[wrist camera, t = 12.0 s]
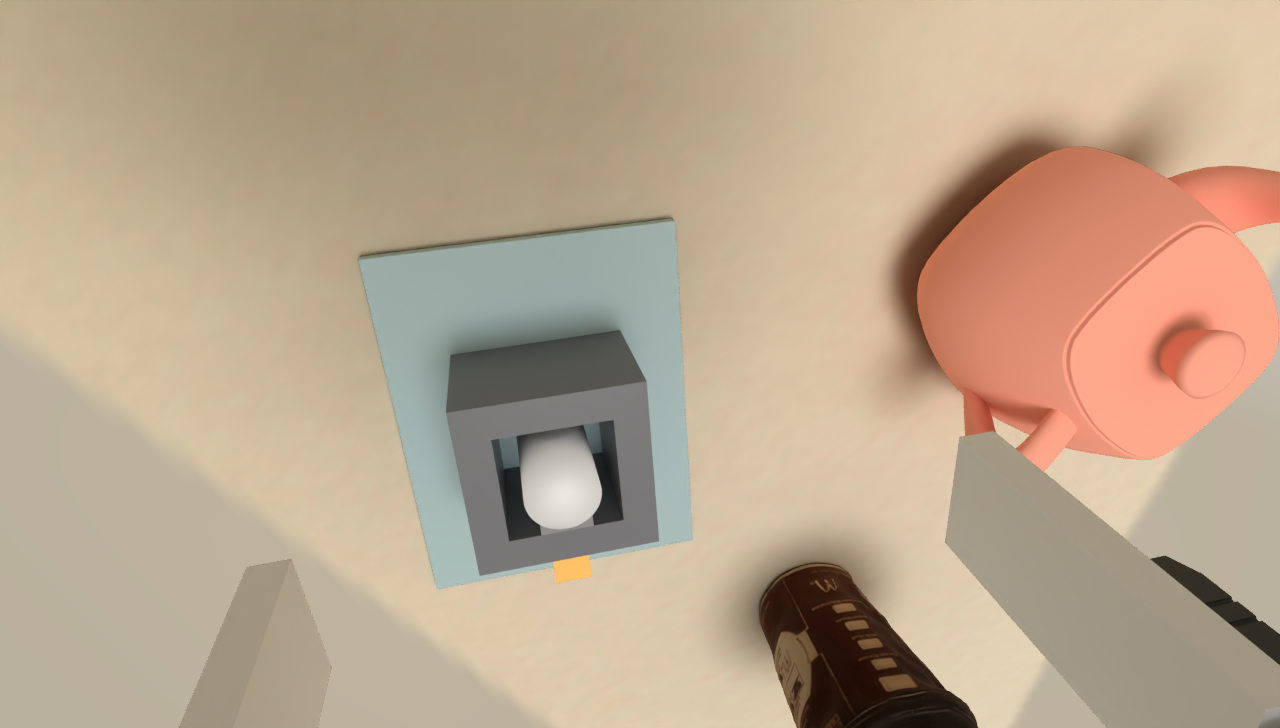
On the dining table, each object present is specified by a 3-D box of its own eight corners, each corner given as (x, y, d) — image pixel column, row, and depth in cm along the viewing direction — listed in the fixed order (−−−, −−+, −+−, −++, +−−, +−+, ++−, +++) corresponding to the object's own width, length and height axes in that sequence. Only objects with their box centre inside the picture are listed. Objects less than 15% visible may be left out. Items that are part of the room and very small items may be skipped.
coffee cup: (765, 677, 47) (860, 884, 36) (716, 593, 44) (805, 792, 32) (885, 614, 47) (1019, 800, 36) (846, 524, 44) (982, 698, 32)
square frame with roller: (450, 354, 34) (445, 412, 28) (620, 330, 35) (646, 381, 30) (482, 518, 38) (483, 597, 32) (634, 491, 39) (660, 562, 34)
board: (360, 256, 32) (329, 313, 25) (671, 218, 34) (721, 260, 27) (437, 582, 39) (429, 694, 32) (689, 533, 41) (732, 629, 35)
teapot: (1218, 213, 40) (1494, 275, 30) (946, 463, 43) (1105, 603, 33) (1115, 25, 35) (1407, 15, 24) (811, 326, 38) (947, 439, 27)
